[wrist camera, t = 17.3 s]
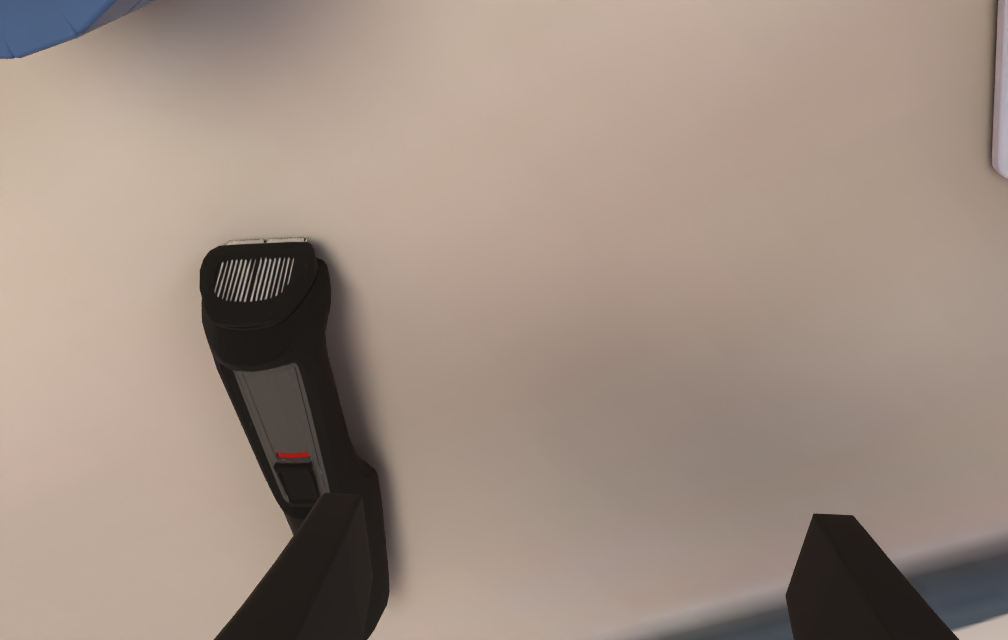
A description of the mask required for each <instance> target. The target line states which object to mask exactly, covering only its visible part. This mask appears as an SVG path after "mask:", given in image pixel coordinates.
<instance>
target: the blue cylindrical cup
mask: <svg viewBox="0 0 1008 640" xmlns="http://www.w3.org/2000/svg"><path fill="white" fill-rule="evenodd" d="M154 1H156V0H0V59H13V58H15V57H16V58H22V57H25V56H27V55H30V54H33V53H36V52H39V51H41V50H44V49H47V48H50V47H53V46H55V45H58V44H61V43H64V42H67V41H69V40H72V39H75V38H77V37H80V36H82V35H84V34H86V33H88V32H90V31H92V30H94V29H97V28H99V27H101V26H103V25H105V24H107V23H109V22H111V21H113V20H116V19H118V18H120V17H121V16H124V15H126V14H128V13H131V12H133V11H135V10H137V9H139V8H141V7H143V6H145V5H148V4H150V3H152V2H154Z"/></svg>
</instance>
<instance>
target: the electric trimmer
mask: <svg viewBox="0 0 1008 640" xmlns="http://www.w3.org/2000/svg"><path fill="white" fill-rule="evenodd" d="M307 239H308V237H307ZM307 239H306V241H305V242H304V239H303V238H302V239H301V237H300V238H299V240H298V238H297V239H296V237H295V238H294V240H293V238H292V239H291V237H290V239H289V240H288V238H287V240H286V238H285V239H284V240H283V239H282V240H281V238H280V239H279V240H278V239H277V240H276V238H275V239H274V240H273V239H272V240H271V239H269V240H267V242H266V243H264V240H263V239H262V241H261V239H260V240H259V241H258V240H257V241H256V239H255V240H254V241H253V240H252V241H251V239H250V240H249V242H248V240H247V241H246V239H245V241H244V242H243V240H242V242H241V240H240V241H239V242H238V241H237V242H236V240H235V241H234V242H233V241H232V242H231V240H230V241H229V242H228V243H227V244H226V245H224V246H218V247H216V248H215V249H213V250H211V251H209V253H208V254H207V255H206V257H205V258H204V259H203V262H202V266H201V269H200V292H201V295H202V323H203V327H204V330H205V334H206V337H207V340H208V343H209V346H210V349H211V352H212V354H213V357H214V361H215V364H216V367H217V370H218V372H219V374H220V377H221V379H222V381H223V384H224V386H225V388H226V390H227V393H228V395H229V397H230V399H231V402H232V404H233V406H234V409H235V411H236V413H237V415H238V418H239V420H240V422H241V425H242V427H243V429H244V431H245V434H246V436H247V438H248V440H249V443H250V445H251V447H252V450H253V452H254V454H255V456H256V459H257V461H258V463H259V466H260V468H261V470H262V472H263V475H264V477H265V479H266V481H267V483H268V485H269V487H270V489H271V491H272V493H273V495H274V497H275V499H276V501H277V502H278V504H279V505H280V507H281V508H282V510H283V512H284V514H285V516H286V518H287V521H288V523H289V525H290V528H291V530H292V533H293V535H294V534H295V533H296V532H297V530H298V529H299V527H300V526H301V524H302V523H303V521H304V520H305V518H306V517H307V515H308V514H309V512H310V510H311V509H312V507H313V506H314V504H315V503H316V501H317V499H318V498H319V497H320V496H321V495H323V494H324V493H341V494H362V499H363V506H364V513H365V520H366V528H367V535H368V542H369V550H370V557H371V564H372V571H373V580H372V587H371V593H370V599H369V605H368V611H367V617H366V623H365V628H364V634H363V639H362V640H367V639H368V638H369V637H370V635H371V634H372V632H373V631H374V629H375V627H376V625H377V623H378V621H379V619H380V617H381V615H382V613H383V611H384V610H385V608H386V606H387V602H388V597H389V573H388V561H387V550H386V540H385V530H384V520H383V509H382V500H381V494H380V487H379V481H378V476H377V473H376V470H375V469H374V468H372V467H371V466H370V465H368V464H367V463H366V462H364V461H363V460H361V459H360V458H359V457H357V456H356V455H355V453H354V450H353V447H352V444H351V441H350V438H349V435H348V431H347V427H346V423H345V420H344V416H343V412H342V408H341V405H340V401H339V397H338V393H337V389H336V386H335V382H334V378H333V374H332V371H331V367H330V363H329V358H328V353H327V348H326V340H325V329H326V324H327V319H328V314H329V310H330V300H331V287H330V278H329V271H328V267H327V264H326V263H325V262H324V261H323V260H322V259H319V258H316V256H315V253H314V249H313V247H312V245H311V244H310V243H308V242H307Z"/></svg>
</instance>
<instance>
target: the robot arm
mask: <svg viewBox="0 0 1008 640" xmlns="http://www.w3.org/2000/svg"><path fill="white" fill-rule="evenodd" d="M992 164H993V168H994V169H995V170H996V171H997V172H998V173H999V174H1001V175H1002V176H1003V177H1005V178H1008V0H998V18H997V43H996V68H995V92H994V117H993V142H992ZM372 580H373V571H372V564H371V557H370V550H369V542H368V535H367V528H366V520H365V513H364V506H363V499H362V494H341V493H324V494H323V495H321V496H320V497H319V498H318V499H317V501H316V503H315V504H314V506H313V507H312V509H311V510H310V512H309V514H308V515H307V517H306V518H305V520H304V521H303V523H302V524H301V526H300V527H299V529H298V530H297V532H296V533H295V534H294V536H293V537H292V539H291V540H290V542H289V543H288V545H287V546H286V547H285V549H284V550H283V552H282V553H281V554H280V556H279V557H278V559H277V560H276V561H275V563H274V564H273V565H272V567H271V568H270V569H269V571H268V572H267V573H266V575H265V576H264V577H263V579H262V580H261V581H260V583H259V584H258V585H257V587H256V588H255V589H254V591H253V592H252V593H251V594H250V596H249V597H248V598H247V600H246V601H245V602H244V604H243V605H242V606H241V607H240V609H239V610H238V611H237V612H236V614H235V615H234V616H233V617H232V619H231V620H230V621H229V622H228V623H227V624H226V626H225V627H224V628H223V629H222V630H221V632H220V633H219V634H218V635H217V636H216V638H215V639H214V640H362V639H363V634H364V628H365V623H366V617H367V611H368V605H369V599H370V593H371V587H372ZM786 601H787V606H788V611H789V617H790V622H791V628H792V633H793V637H794V640H959V639H958V638H957V637H956V636H955V634H954V633H953V632H952V631H951V630H950V629H949V628H948V627H947V625H946V624H945V623H944V622H943V621H942V620H941V619H940V618H939V616H938V615H937V614H936V613H935V612H934V611H933V610H932V609H931V607H930V606H929V605H928V604H927V603H926V602H925V600H924V599H923V598H922V597H921V596H920V595H919V593H918V592H917V591H916V590H915V589H914V588H913V586H912V585H911V584H910V583H909V582H908V580H907V579H906V578H905V577H904V576H903V575H902V573H901V572H900V571H899V570H898V569H897V567H896V566H895V565H894V564H893V563H892V561H891V560H890V559H889V558H888V557H887V555H886V554H885V553H884V552H883V551H882V549H881V548H880V547H879V546H878V545H877V543H876V542H875V541H874V540H873V538H872V537H871V536H870V535H869V534H868V532H867V531H866V530H865V529H864V528H863V527H862V525H861V524H860V523H859V522H858V521H857V520H856V518H855V517H854V516H853V515H834V514H813V517H812V520H811V522H810V525H809V528H808V531H807V534H806V537H805V540H804V543H803V546H802V549H801V552H800V555H799V558H798V560H797V563H796V566H795V569H794V572H793V575H792V578H791V581H790V584H789V587H788V590H787V593H786Z"/></svg>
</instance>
